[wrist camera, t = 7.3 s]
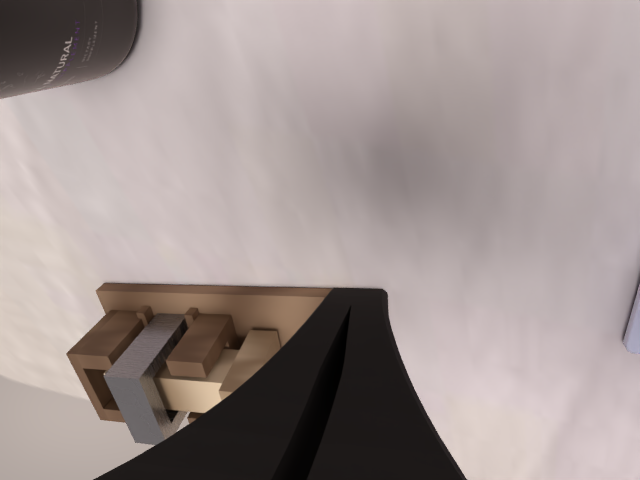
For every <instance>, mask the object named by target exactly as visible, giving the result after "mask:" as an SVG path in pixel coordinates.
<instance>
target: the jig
mask: <svg viewBox="0 0 640 480" xmlns="http://www.w3.org/2000/svg"><path fill="white" fill-rule="evenodd" d="M331 290H332V289H329V288H285V287H242V286H198V285H154V284H110V283H104V284H103V285H102V286H101V287H99V288H98V289H97V290H96V293H97V295H98V297H99V300H100V302H101V304H102V307H103V309H104V311H105V313H106V315H105V316H104V317H103V318H102V319H101V320H100V321H99V322H98V323H97V324H96V325H95V326H94V327H93V328H92V329H91V330H90V331H89V332H88V333H87V334H86V335H85V336H84V337H83V338H82V339H81V340H80V341H79V342H78V343H77V344H76V345H75V346H73V347H72V348H71V349H70V350H69V351H68V352H67V353H66V354H67V356H68V358H69V360H70V362H71V364H72V366H73V368H74V370H75V372H76V373H77V375H78V377H79V379H80V381H81V383H82V385H83V387H84V389H85V391H86V393H87V395H88V397H89V398H90V400H91V402H92V404H93V406H94V408H95V410H96V412H97V414H98V416H99V417H100V420H107V421H116V422H125V420H124V418H123V416H122V414H121V412H120V409H119V407H118V405H117V403H116V401H115V399H114V397H113V395H112V393H111V391H110V389H109V387H108V385H107V383H106V380H105V378H104V373H105V371H106V370H109V369H110V368H111V367H112V366H113V364H114V363H115V362H116V361H117V360H118V358H119V357H120V356H121V355H122V354H123V353H124V351H125V350H126V349H127V348H128V347H129V346H130V344H131V343H132V342H133V341H134V340H135V339H136V337H137V336H138V335H139V334H140V333H141V332H142V330H143V329H144V328H145V327H146V326H147V325H148V323H149V322H150V321H151V320H152V319H153V317H154V316H155V315H156V314H157V313H169V314H185V315H184V316H185V319H186V322H187V325H188V328H189V329H188V330H187V331H186V333H185V334H184V336H183V337H182V338H181V340H180V341H179V343H178V344H177V345H176V347H175V348H174V350H173V351H172V352H171V354H170V355H169V357H168V358H167V359H166V363H167V366H168V368H169V371H170V374H171V375H175V376H188V377H201V378H207V376H208V375H209V373H210V371H211V369H212V368H213V366H214V364H215V362H216V361H217V359H218V357H219V355H220V354H221V352H222V350H223V349H231V350H240V348H241V346H242V345H243V343H244V341H245V339H246V337H247V335H248V333H249V331H250V330H261V331H277V334H278V339H279V344H280V348H282V347H283V346H284V345H285V344H286V342H287V341H288V340H289V339H290V338H291V337H292V336H293V335H294V334H295V333H296V331H297V330H298V329H299V328H300V327H301V326H302V325H303V324H304V323H305V321H306V320H307V319H308V318H309V317H310V315H311V314H312V313H313V312H314V311H315V309H316V308H317V307H318V306H319V305H320V303H321V302H322V301H323V300H324V298H325V297H326V296H327V295H328V293H329V292H330V291H331ZM203 414H204V413H199V412H190V414H189V416H188V417H187V418H188V421H189V424H190V423H192V422H193V421H194V420H196V419H197V418H198V417H200V416H201V415H203ZM125 423H126V422H125Z"/></svg>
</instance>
